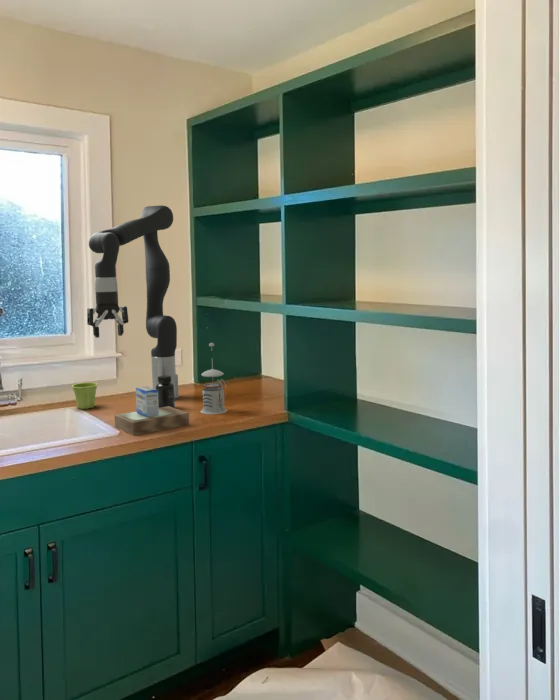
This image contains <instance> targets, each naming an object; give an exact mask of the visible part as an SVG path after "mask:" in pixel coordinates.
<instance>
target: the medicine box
mask: <svg viewBox="0 0 560 700" xmlns="http://www.w3.org/2000/svg"><path fill="white" fill-rule="evenodd" d="M135 398H136V399H135V401H136V404H135V405H136V407H135V408H136V411H137V413H138V414H140V415H143V416H146V417H151V416H157V415H159V406H158V390H156V389H153V387H150V386H139V387H136V388H135Z"/></svg>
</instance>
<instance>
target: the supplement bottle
mask: <svg viewBox="0 0 560 700" xmlns="http://www.w3.org/2000/svg"><path fill="white" fill-rule="evenodd" d="M158 382H159V383H158V384H157V385H156V390H158V406H159V408H161V407H167V406H170V407H172V408H175V409H176V399H175V394H174V385H173V384H172V383H171V376H159V377H158Z"/></svg>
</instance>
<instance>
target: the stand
mask: <svg viewBox="0 0 560 700" xmlns="http://www.w3.org/2000/svg"><path fill="white" fill-rule="evenodd" d="M185 425H186V426H189V425H190V413H189V412H187V411H185V410H184V411H183V410H181V409H177V408H176V407H175V408H172V407H170V406H167V407H161V408H159V415H157V416H151V417H146V416H143V415H140V414H138V413H137V410H136V411H132V412H125V413H120V414H114V427H115V428H117V429H118V430H121V431H123V432H126V433H128V434H130V435H132V436H136V435H142V434H147V433H153V432H157V431H163V430H168V429H174V428H180V427H185Z"/></svg>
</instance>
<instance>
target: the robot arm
mask: <svg viewBox="0 0 560 700" xmlns="http://www.w3.org/2000/svg"><path fill="white" fill-rule="evenodd" d="M173 223H174V213H173V211H172V209H171V208H170V207H169V206H167V205H162V204H161V205H148V206H145V207H144V208H142V211H141V216H140V218H137V219H132V220H128V221H124V222H123V223H120V224H118V225H116V226H114V227H112V228H108V229H105V230H100V231H96V232H95V233H93V234H92V235H91V236H90V238H89V240H88V247H89V249H90V250H91V251H92V252H93V253H96V254H102V257H101V259H100V260H97V261H96V262H95V263H94V274H95V275H94V276H95V282H94V290H95V305H96V306H95V307H94V308H93V307H88V308H87V310H86V312H87V313H86V315H87V316H86V317H87V319H86V322H87V323H86V325H88V326H91V327H92V329H93V330H92V331H93V336H94V337H95V338H96V339H98V338H100V327H99V325H100V324H101V323H102V322H103V320H104V321H105V320H114V321H115V322H116V323H117V335H118V336H120V337H121V336H123V335H124V325H125V324H128V323H129V314H128V307H127V306H126V305H122V306H119V296H118V295H119V293H118V290H119V289H118V281H117V269H116V265H117V260H118V257H119V252H120V246H121V247H122V246H125V245H126V244H129V243H130V242H131V243H132V241H134V240H137V239H138V238H141V237H142V238H143V244H144V245H143V246H144V257H145V258H144V260H145V282H146V283H145V285H146V317H145V329H146V332H147V335H149V336H150V337H151V338H153V339H157V340H156V341H157V344H156V346H155V347H153V348H152V349H151V350H150V354H151V355H150V359H151V379H152V388H153V389H156V385H157V384H158V383H159V382H158V377H159V376H171V383H172V384H173V385H174V394H175V400H176V399H179V398H180V397H179V395H180V394H179V375H178V373H177V371H176V349H177V346H178V345H177V344H178V341H177V340H178V336H177V335H178V334H177V333H178V332H177V331H178V327H177V323H176V321H175V319H174V318H173V317H172V316H170V315H164V306H163V305H164V300H165V296H166V294H167V291H168V289H169V287H170V283H171V275H170V272H171V271H170V270H171V268H170V263H169V260H168V258H167V256H166V255H165V253H164V251H163V249H162V248H161V246H160V242H159V237H158V231H163V230H168V229H170V228H171V226H172V225H173ZM119 312H120V313H121V317H120V316H119V314H118V313H119ZM95 313H96V314H97V316H96V318H95V319H94V315H95Z"/></svg>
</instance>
